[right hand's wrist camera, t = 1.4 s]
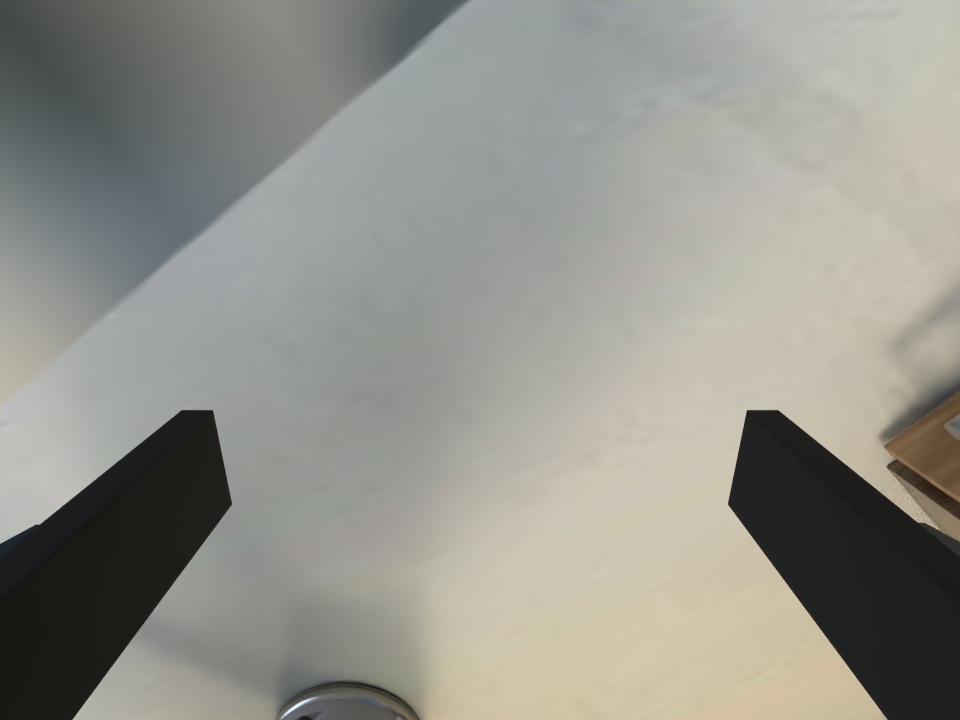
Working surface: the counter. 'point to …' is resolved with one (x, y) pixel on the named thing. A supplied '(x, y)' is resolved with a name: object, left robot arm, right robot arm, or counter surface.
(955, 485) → the drawer
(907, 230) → the counter surface
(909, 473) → the cabinet
